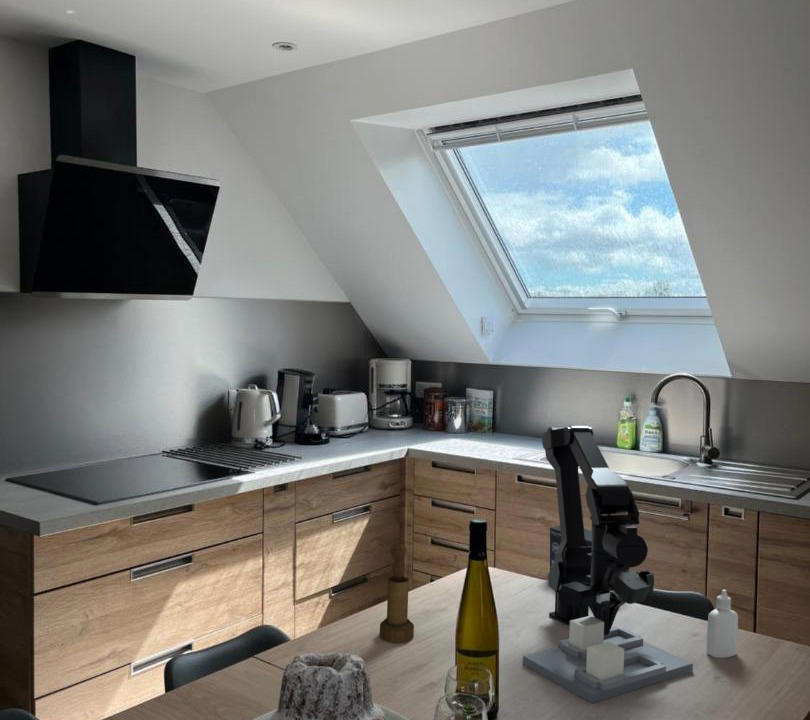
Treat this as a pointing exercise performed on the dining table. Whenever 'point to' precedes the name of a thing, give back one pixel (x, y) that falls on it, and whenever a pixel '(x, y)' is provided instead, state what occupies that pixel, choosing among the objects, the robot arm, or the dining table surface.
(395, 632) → the mortar and pestle
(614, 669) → the tab
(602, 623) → the tab
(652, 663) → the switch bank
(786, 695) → the dining table surface
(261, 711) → the dining table surface
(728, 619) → the eye dropper bottle
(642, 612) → the dining table surface
